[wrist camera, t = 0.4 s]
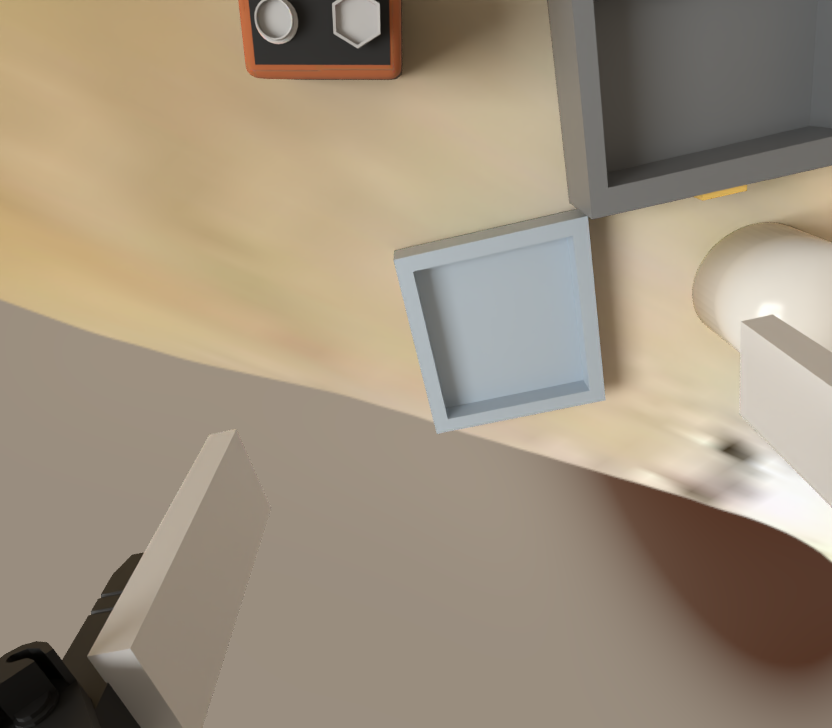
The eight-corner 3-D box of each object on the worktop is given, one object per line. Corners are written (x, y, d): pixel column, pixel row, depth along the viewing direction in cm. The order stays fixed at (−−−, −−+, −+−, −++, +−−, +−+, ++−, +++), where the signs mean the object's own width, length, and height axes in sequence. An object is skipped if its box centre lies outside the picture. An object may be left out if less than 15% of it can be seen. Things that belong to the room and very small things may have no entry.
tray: (394, 250, 38) (393, 259, 36) (578, 208, 37) (587, 215, 35) (435, 417, 43) (436, 433, 41) (596, 385, 42) (605, 400, 40)
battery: (402, 79, 34) (400, 78, 25) (284, 79, 33) (239, 78, 24) (401, -10, 32) (399, -47, 23) (276, -10, 32) (224, -47, 23)
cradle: (545, -18, 32) (568, -34, 27) (831, -92, 30) (905, -123, 26) (570, 210, 37) (592, 228, 32) (813, 155, 36) (873, 165, 31)
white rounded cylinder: (691, 237, 38) (758, 274, 31) (818, 209, 37) (917, 240, 30) (693, 347, 41) (754, 402, 34) (809, 323, 40) (896, 375, 33)
